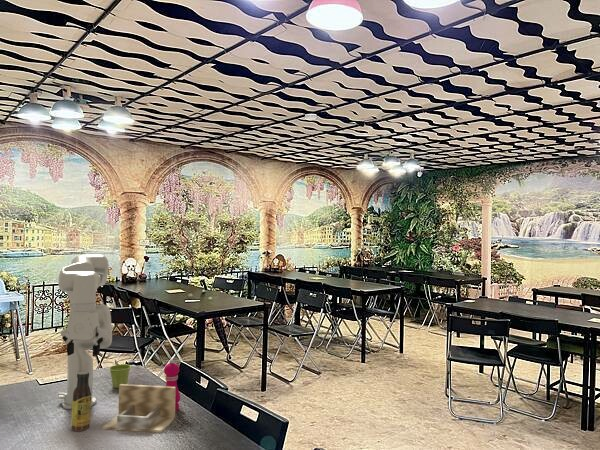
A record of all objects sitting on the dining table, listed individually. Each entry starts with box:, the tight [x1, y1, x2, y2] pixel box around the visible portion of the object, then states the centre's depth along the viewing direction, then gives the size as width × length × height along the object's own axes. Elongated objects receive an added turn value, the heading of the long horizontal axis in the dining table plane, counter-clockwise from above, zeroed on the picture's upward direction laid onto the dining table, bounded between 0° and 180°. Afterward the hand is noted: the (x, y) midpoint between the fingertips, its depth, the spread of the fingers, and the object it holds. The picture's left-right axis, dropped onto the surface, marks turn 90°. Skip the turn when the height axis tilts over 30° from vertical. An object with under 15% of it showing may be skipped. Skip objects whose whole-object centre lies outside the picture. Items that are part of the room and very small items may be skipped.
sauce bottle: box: [70, 372, 92, 432], centre depth 168 cm, size 6×6×20 cm
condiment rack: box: [102, 383, 176, 434], centre depth 173 cm, size 22×13×12 cm, turn 84°
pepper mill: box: [163, 359, 181, 412], centre depth 188 cm, size 7×7×20 cm
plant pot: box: [108, 363, 132, 389], centre depth 215 cm, size 9×9×9 cm
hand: (83, 355), depth 169 cm, fingers open, 9 cm apart
